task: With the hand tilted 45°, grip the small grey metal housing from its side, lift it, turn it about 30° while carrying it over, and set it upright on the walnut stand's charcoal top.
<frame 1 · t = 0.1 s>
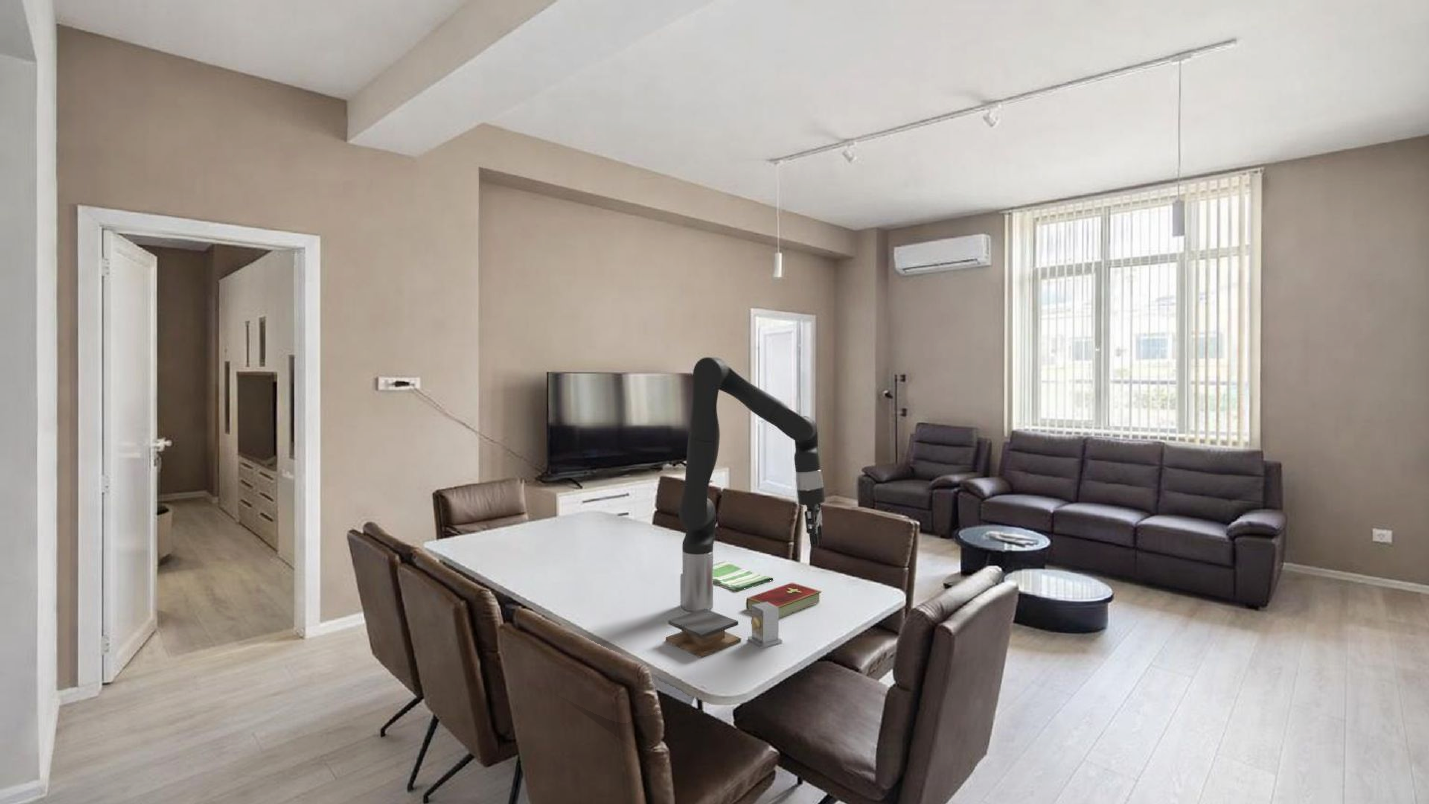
hand: (817, 543, 187), 22 cm above the table, tool pointing down, fingers open, 8 cm apart
stand: (703, 641, 174), on the table
housing: (765, 641, 174), on the table
hardcover book: (784, 607, 201), on the table
dish towel: (730, 580, 227), on the table
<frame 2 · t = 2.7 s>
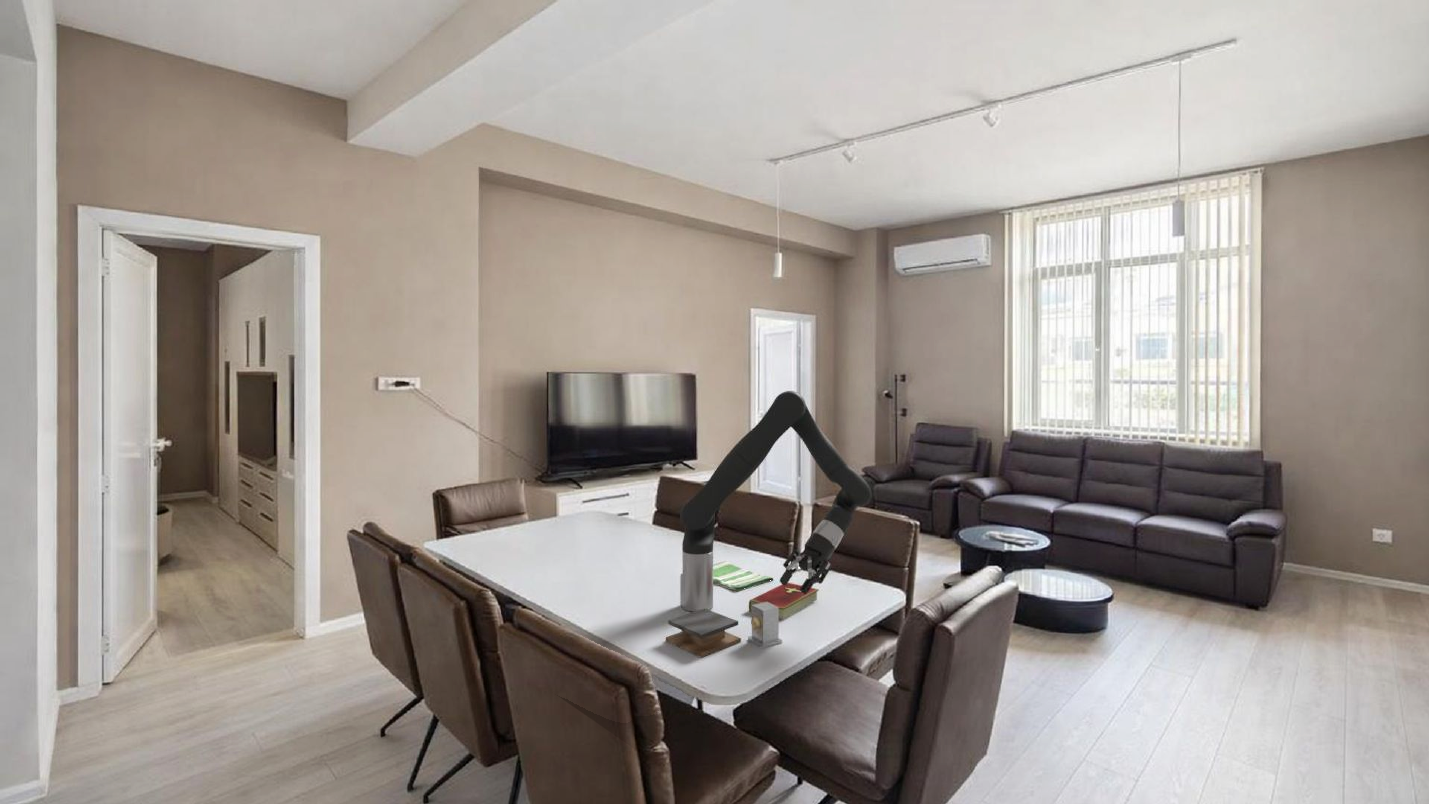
hand: (792, 588, 178), 13 cm above the table, tool tilted 45°, fingers open, 8 cm apart
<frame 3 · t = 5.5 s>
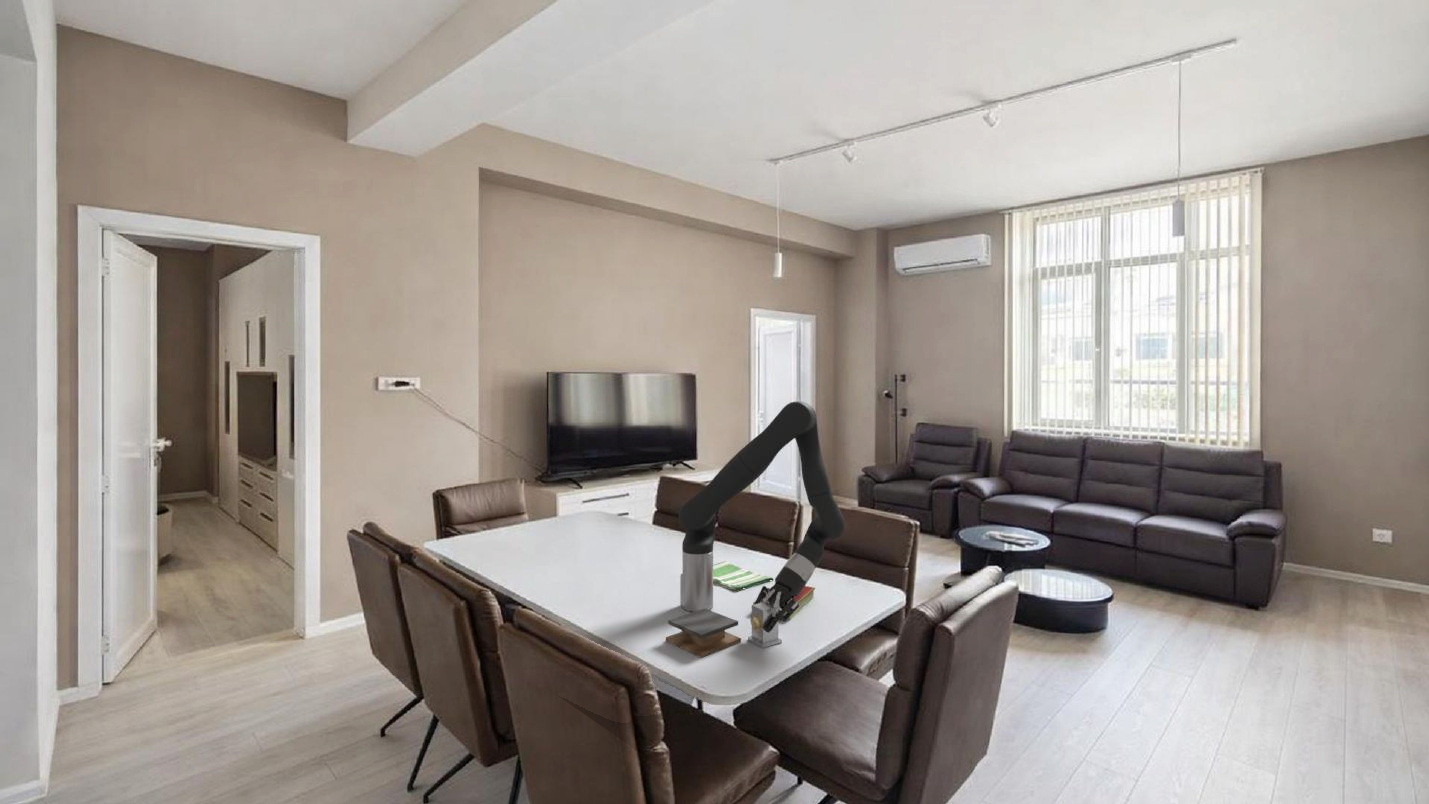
hand: (759, 626, 173), 4 cm above the table, tool tilted 45°, fingers closed on housing, 5 cm apart
housing: (764, 641, 174), on the table, touching gripper
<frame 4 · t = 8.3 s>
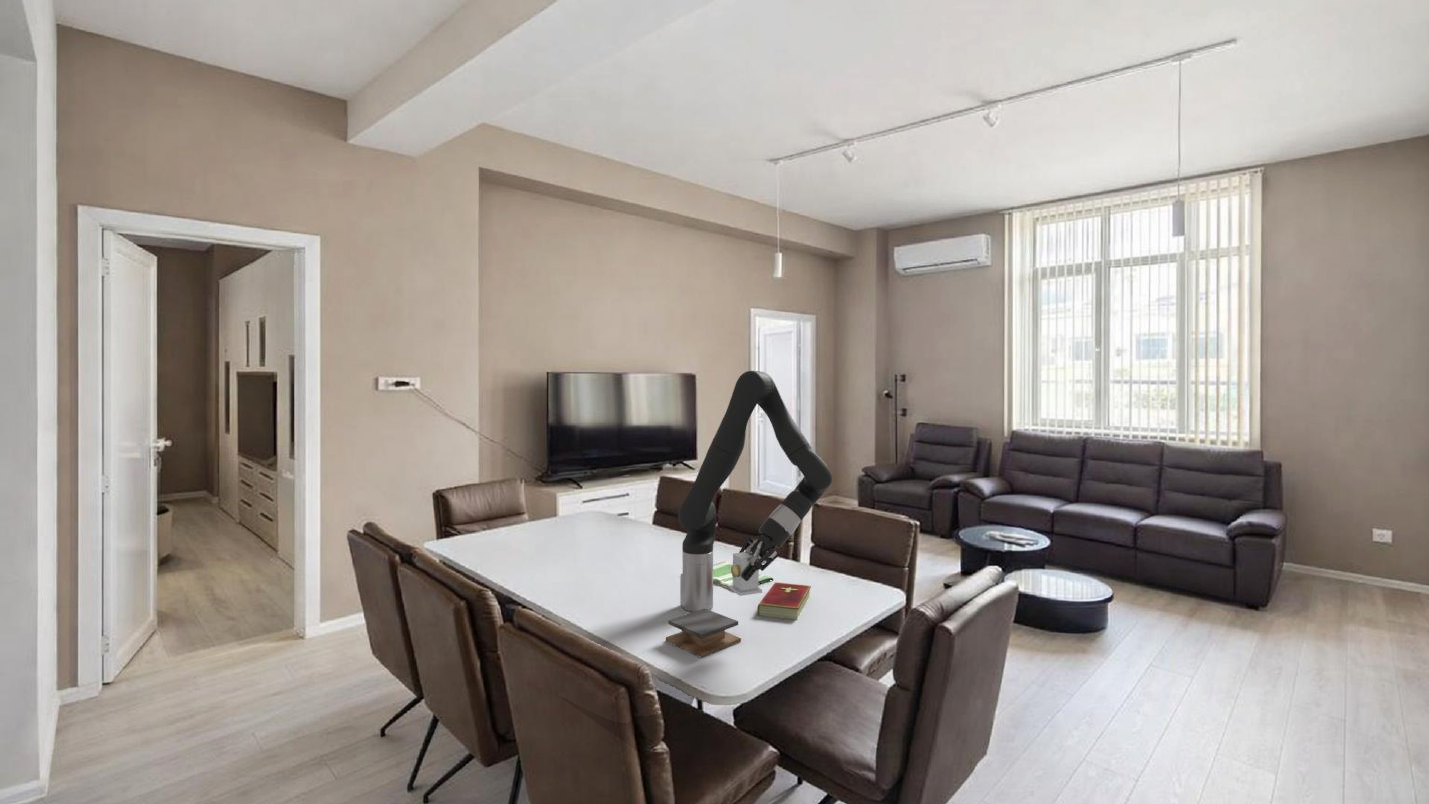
hand: (739, 575, 171), 18 cm above the table, tool tilted 45°, fingers closed on housing, 5 cm apart
housing: (745, 590, 172), point 14 cm above the table, touching gripper
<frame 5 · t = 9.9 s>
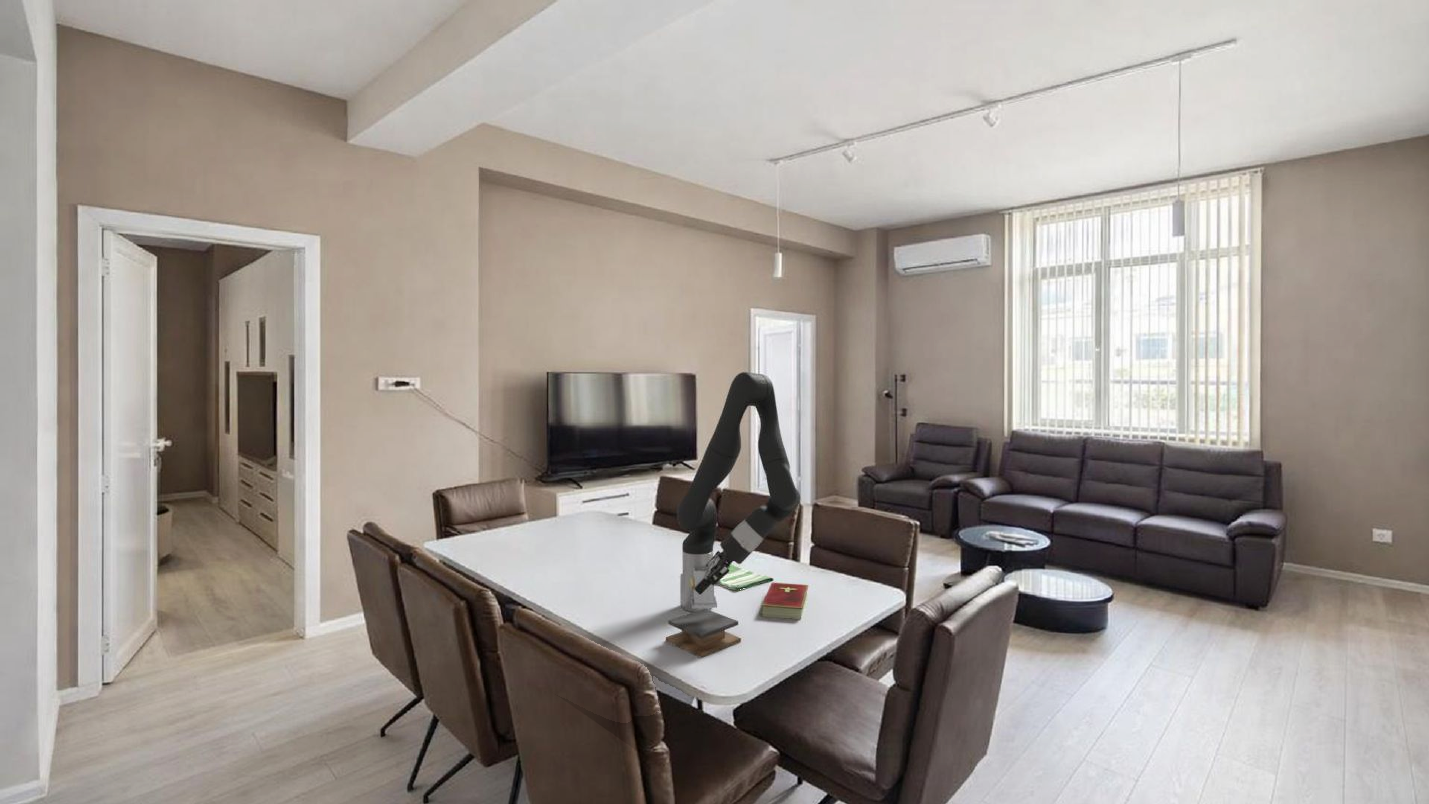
hand: (696, 588, 173), 14 cm above the table, tool tilted 45°, fingers closed on housing, 5 cm apart
housing: (704, 603, 173), point 10 cm above the table, touching gripper
when the fingers open (11 cm above the table, at t = 10.9 s): housing drops 1 cm, resting on stand.
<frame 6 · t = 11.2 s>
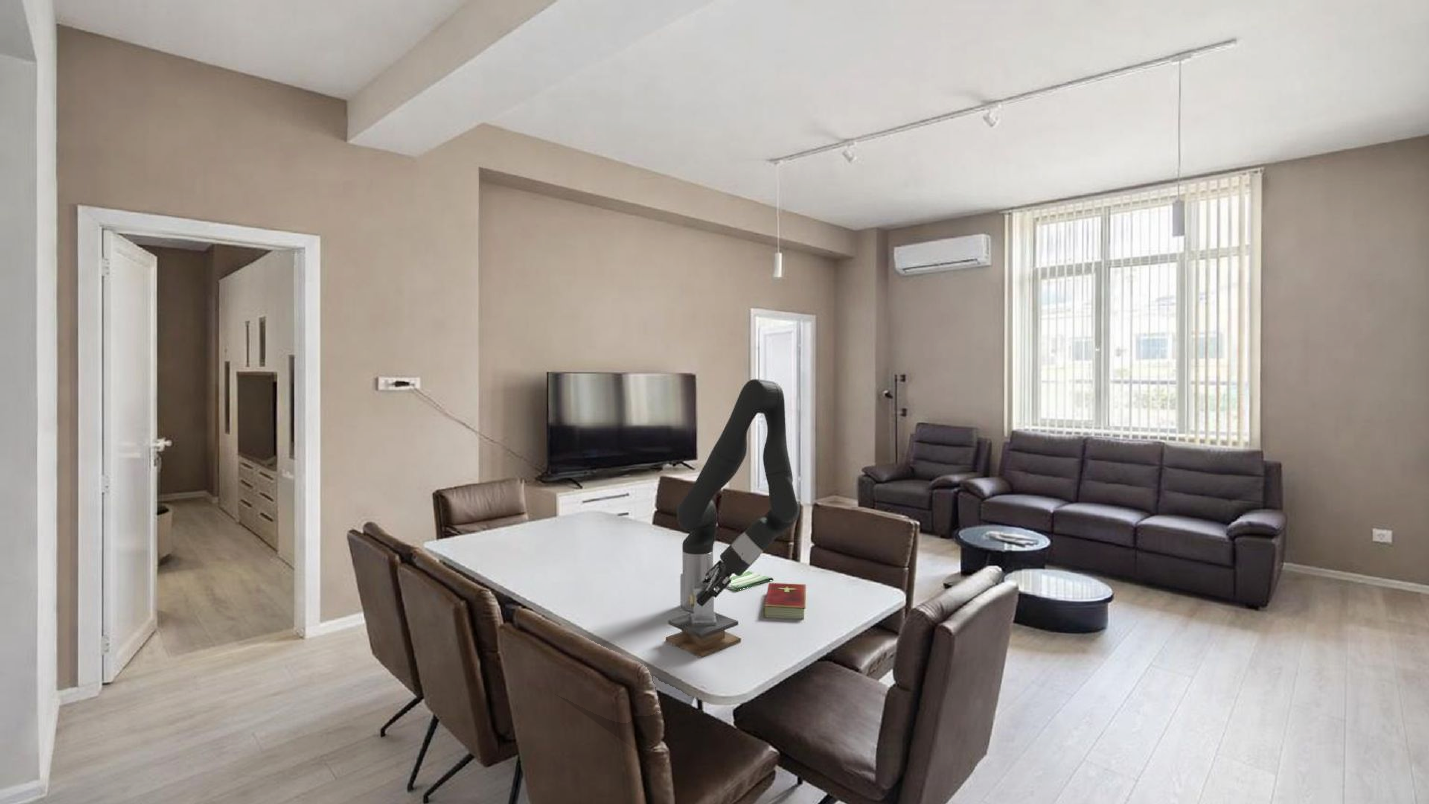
hand: (697, 598, 173), 12 cm above the table, tool tilted 45°, fingers open, 8 cm apart
housing: (703, 620, 173), point 5 cm above the table, touching stand
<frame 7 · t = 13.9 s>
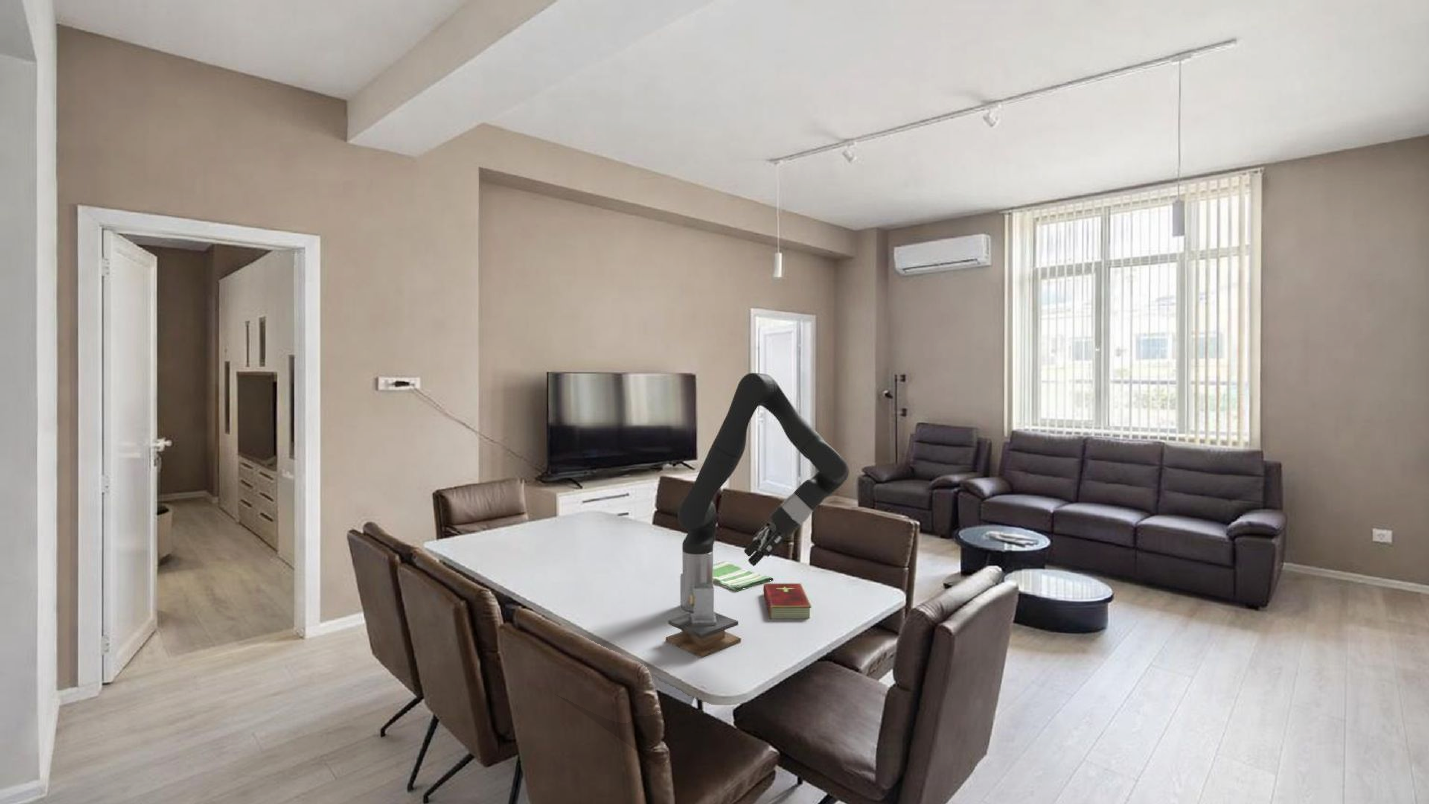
hand: (748, 558, 174), 22 cm above the table, tool tilted 45°, fingers open, 8 cm apart
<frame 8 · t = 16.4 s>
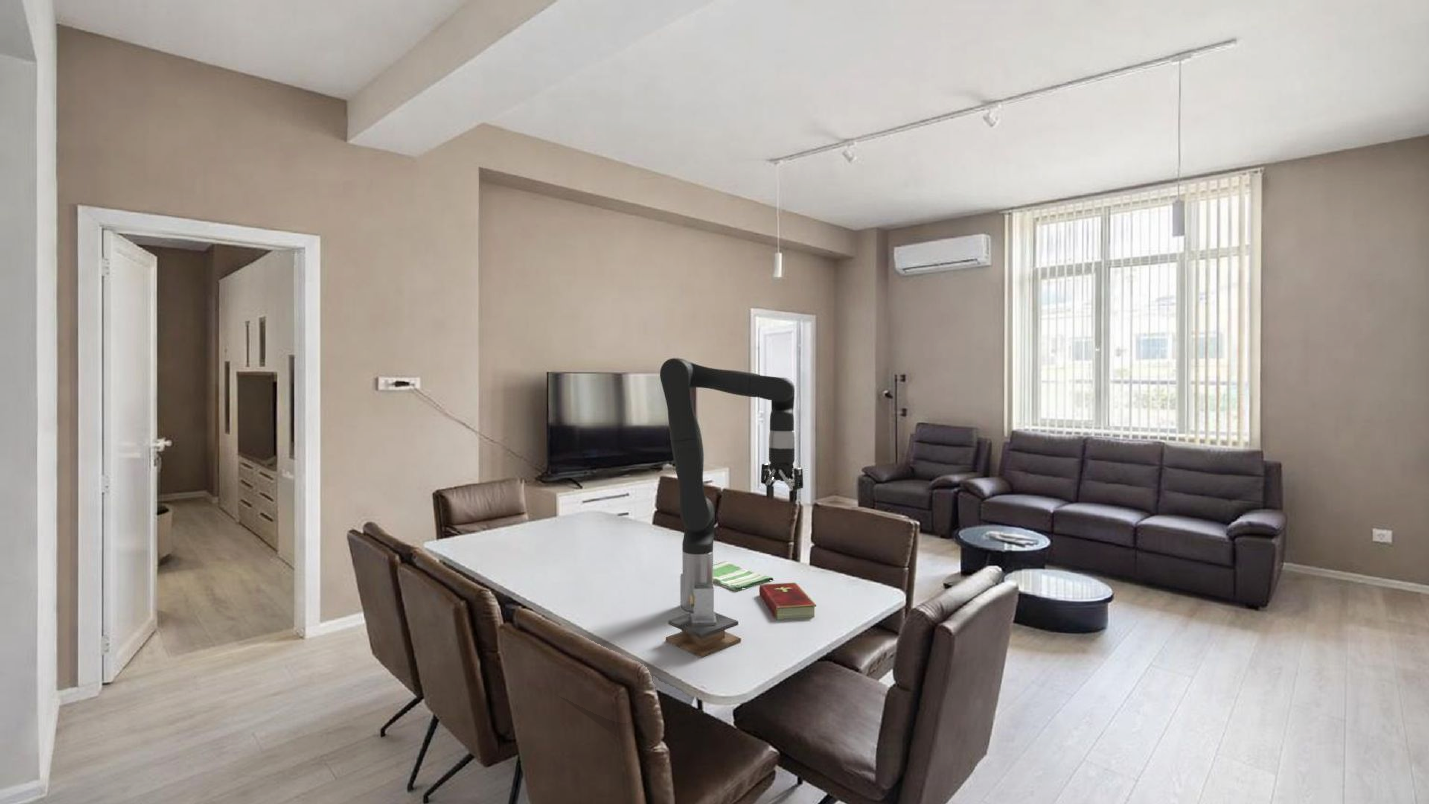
hand: (781, 501, 193), 33 cm above the table, tool pointing down, fingers open, 8 cm apart
at the end: housing inside the target area on the stand (0.1 cm from its centre), point 5.5 cm above the stand's base; housing tilted 0°; the gripper is holding nothing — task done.
